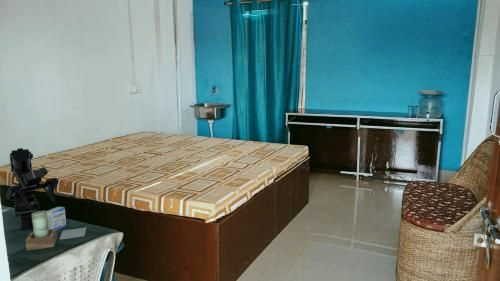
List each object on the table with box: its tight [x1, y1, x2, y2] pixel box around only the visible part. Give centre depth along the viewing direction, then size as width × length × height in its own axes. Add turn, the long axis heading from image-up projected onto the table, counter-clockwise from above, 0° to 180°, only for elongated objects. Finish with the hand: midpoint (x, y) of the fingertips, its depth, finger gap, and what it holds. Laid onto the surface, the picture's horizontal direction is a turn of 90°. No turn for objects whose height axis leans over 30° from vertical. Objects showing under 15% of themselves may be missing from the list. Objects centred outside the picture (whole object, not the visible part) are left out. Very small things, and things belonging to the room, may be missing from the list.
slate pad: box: [59, 227, 87, 240], centre depth 149 cm, size 9×9×1 cm
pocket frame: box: [24, 229, 58, 251], centre depth 139 cm, size 9×9×4 cm
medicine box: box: [46, 206, 67, 232], centre depth 156 cm, size 8×4×9 cm, turn 168°
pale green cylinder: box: [32, 210, 49, 238], centre depth 139 cm, size 5×5×12 cm
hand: (43, 204), depth 145 cm, fingers open, 9 cm apart
